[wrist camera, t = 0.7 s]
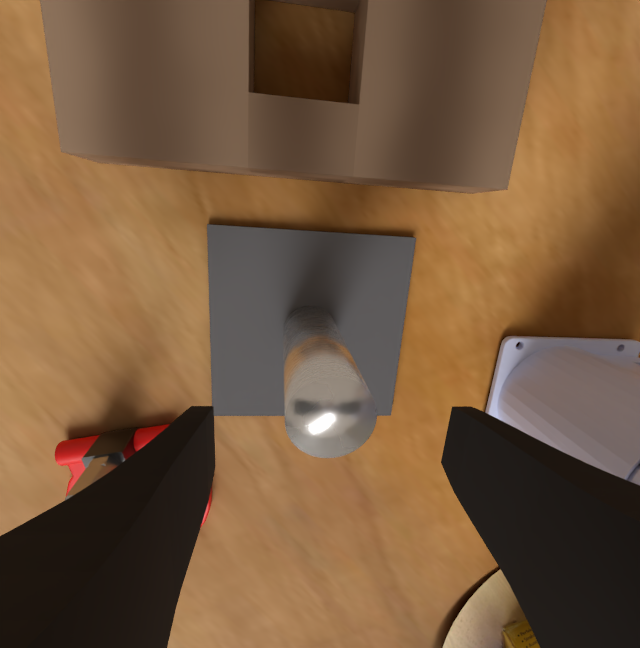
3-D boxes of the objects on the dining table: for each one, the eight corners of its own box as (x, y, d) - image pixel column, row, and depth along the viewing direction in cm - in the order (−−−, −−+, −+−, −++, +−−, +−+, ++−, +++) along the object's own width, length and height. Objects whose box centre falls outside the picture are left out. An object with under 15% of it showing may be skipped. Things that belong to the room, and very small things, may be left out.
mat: (413, 237, 19) (416, 237, 19) (388, 412, 22) (390, 415, 22) (208, 224, 18) (207, 224, 17) (213, 412, 21) (212, 415, 21)
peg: (337, 306, 19) (381, 377, 11) (333, 355, 20) (371, 457, 12) (283, 304, 19) (286, 376, 11) (282, 354, 20) (283, 458, 11)
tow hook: (225, 524, 24) (193, 413, 21) (170, 846, 12) (76, 703, 9) (102, 545, 24) (49, 435, 20) (-83, 905, 12) (-281, 776, 8)
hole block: (515, -39, 16) (566, -94, 13) (472, 193, 19) (507, 189, 16) (68, -115, 14) (11, -203, 11) (98, 162, 16) (61, 151, 14)
